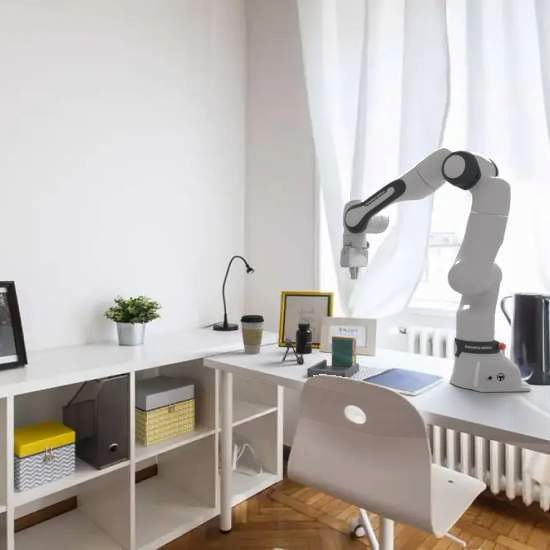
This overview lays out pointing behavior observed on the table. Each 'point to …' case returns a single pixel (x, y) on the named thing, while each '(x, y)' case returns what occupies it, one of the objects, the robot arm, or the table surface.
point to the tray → (332, 370)
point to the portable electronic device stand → (288, 345)
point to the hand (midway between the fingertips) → (354, 279)
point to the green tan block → (343, 351)
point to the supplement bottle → (304, 339)
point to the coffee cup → (252, 333)
